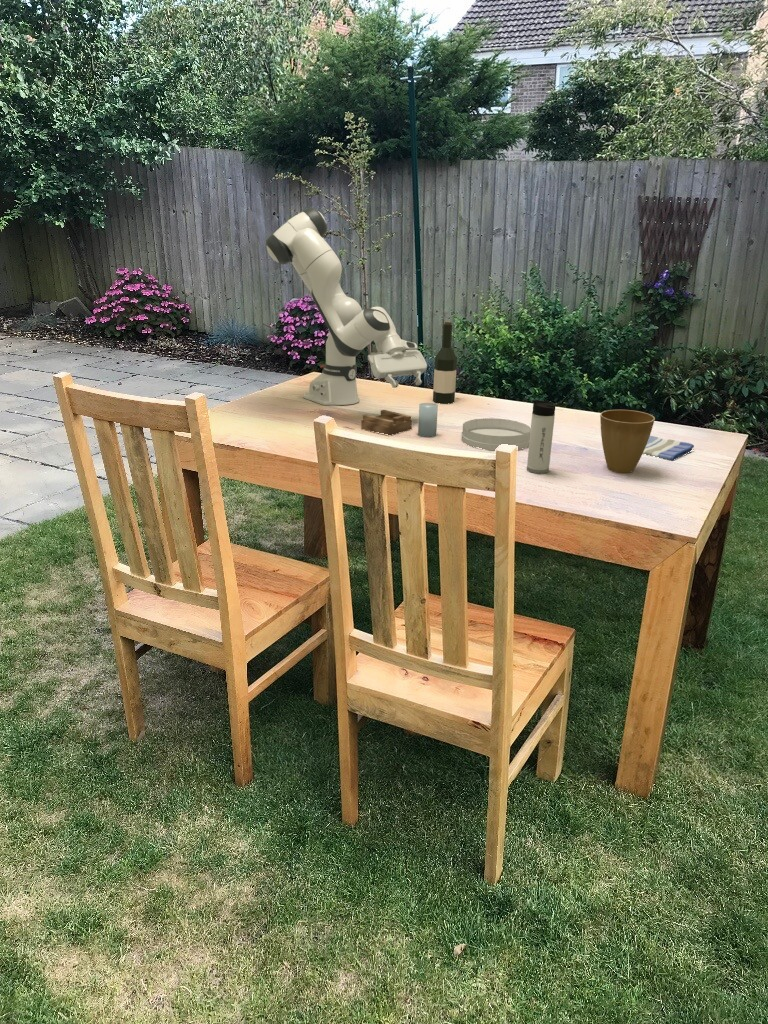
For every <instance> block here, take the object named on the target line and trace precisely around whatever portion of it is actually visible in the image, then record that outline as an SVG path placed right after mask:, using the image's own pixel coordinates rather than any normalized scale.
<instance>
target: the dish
mask: <svg viewBox="0 0 768 1024" xmlns="http://www.w3.org/2000/svg"><path fill="white" fill-rule="evenodd" d="M530 430H531V426H530V425H527V424H525V423H523V422H521V421H517V420H511V419H506V418H504V419H503V418H493V417H492V418H490V417H489V418H488V417H487V418H476V419H475V418H474V419H470V420H467V421H465V422H463V423H462V431H461V435H460V436H461V438H460V440H462V441H461V442H462V443H463V444H464V443H466V444H467V445H466V444H465V445H466V446H468V445H469V446H468V447H471V446H474V447H479V448H482V449H481V450H483V449H485V450H484V451H491V452H496V451H495V449H496V448H497V447H498V446H499V445H501V444H508V445H516V446H518V449H521V450H523V449H522V448H524V449H527V448H529V441H530ZM474 447H473V448H474Z"/></svg>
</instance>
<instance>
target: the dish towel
mask: <svg viewBox="0 0 768 1024" xmlns="http://www.w3.org/2000/svg"><path fill="white" fill-rule="evenodd" d="M694 447H695V445H694V444H693V443H691V442H686V441H680V440H674V439H671V438H669V439H667V438H665V439H664V438H660V437H658V436H655V435H654V436H653V435H650V437H649V439H648V442H647V445H646V447H645V449H644V452H643V454H642V455H644V454H646V455H645V456H648V455H650V456H649V457H653V456H655V457H654V458H657V457H659V458H658V459H661V458H663V460H666V459H667V460H666V461H675V460H677V459H679V458H681V457H680V456H682V457H684V456H685V455H684V454H686V453H688V452H690V451H691V450H692V449H694ZM690 453H691V452H690ZM688 454H689V453H688ZM683 455H684V456H683ZM686 455H687V454H686ZM678 457H679V458H678ZM676 458H677V459H676ZM674 459H675V460H674Z"/></svg>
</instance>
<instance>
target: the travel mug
mask: <svg viewBox="0 0 768 1024" xmlns="http://www.w3.org/2000/svg"><path fill="white" fill-rule="evenodd" d="M531 403H532V404H533V405H532V413H531V422H530V428H531V430H530V441H529V446H528V452H527V462H526V463H527V465H526V470H527V471H528V472H529V473H533V474H539V475H540V474H546V473H548V472H549V471H550V465H551V464H550V463H551V456H552V455H551V454H552V444H553V434H554V427H555V425H554V424H555V417H556V404H554V403H552V402H550V401H547V400H538V399H534V400H532V402H531Z"/></svg>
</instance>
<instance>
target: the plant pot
mask: <svg viewBox="0 0 768 1024" xmlns="http://www.w3.org/2000/svg"><path fill="white" fill-rule="evenodd" d="M599 416H600V417H599V418H600V436H601V444H602V449H603V455H604V459H605V464H606V467H607V469H608V470H609V471H611V472H614V473H619V474H628V473H629V474H630V473H633V472H634V471H635V469H636V467H637V465H638V464H639V461H640V460H641V458H642V456H643V455H644V454H643V452H644V449H645V447H646V445H647V442H648V439H649V437H650V436H651V433H652V429H653V427H654V424H655V420H656V417H655V416H653V415H652V414H650V413H647V412H643V411H639V410H630V409H610V410H604V411H602V412H600V414H599Z"/></svg>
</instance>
